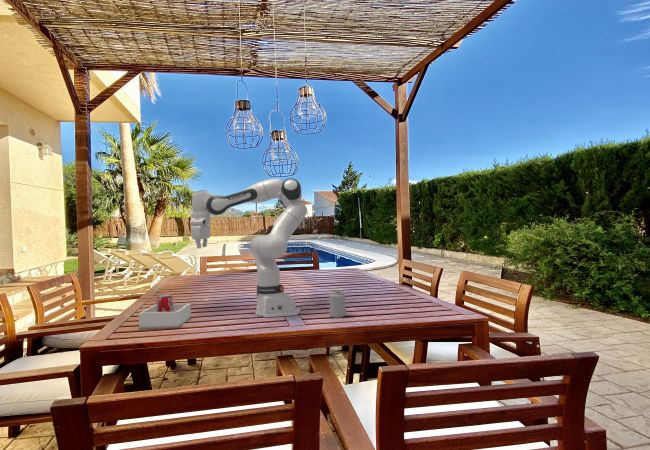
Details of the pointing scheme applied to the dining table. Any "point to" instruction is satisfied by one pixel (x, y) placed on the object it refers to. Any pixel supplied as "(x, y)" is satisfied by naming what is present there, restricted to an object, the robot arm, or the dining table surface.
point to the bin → (164, 317)
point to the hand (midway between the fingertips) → (201, 247)
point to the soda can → (165, 303)
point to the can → (337, 304)
